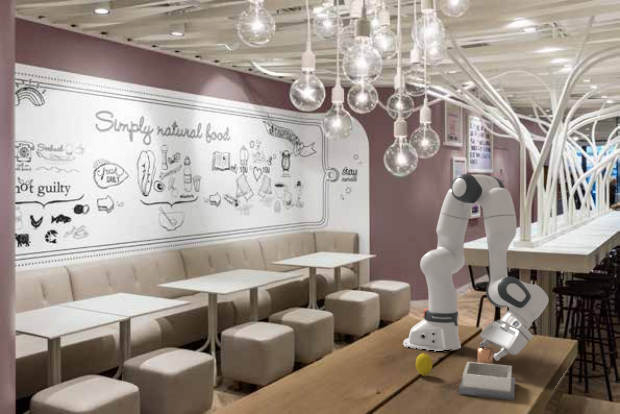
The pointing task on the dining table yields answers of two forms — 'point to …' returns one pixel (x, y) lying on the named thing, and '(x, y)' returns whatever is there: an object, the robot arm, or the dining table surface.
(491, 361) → the copper upright cylinder
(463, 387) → the open square box
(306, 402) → the dining table surface
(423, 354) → the lemon
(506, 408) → the dining table surface
